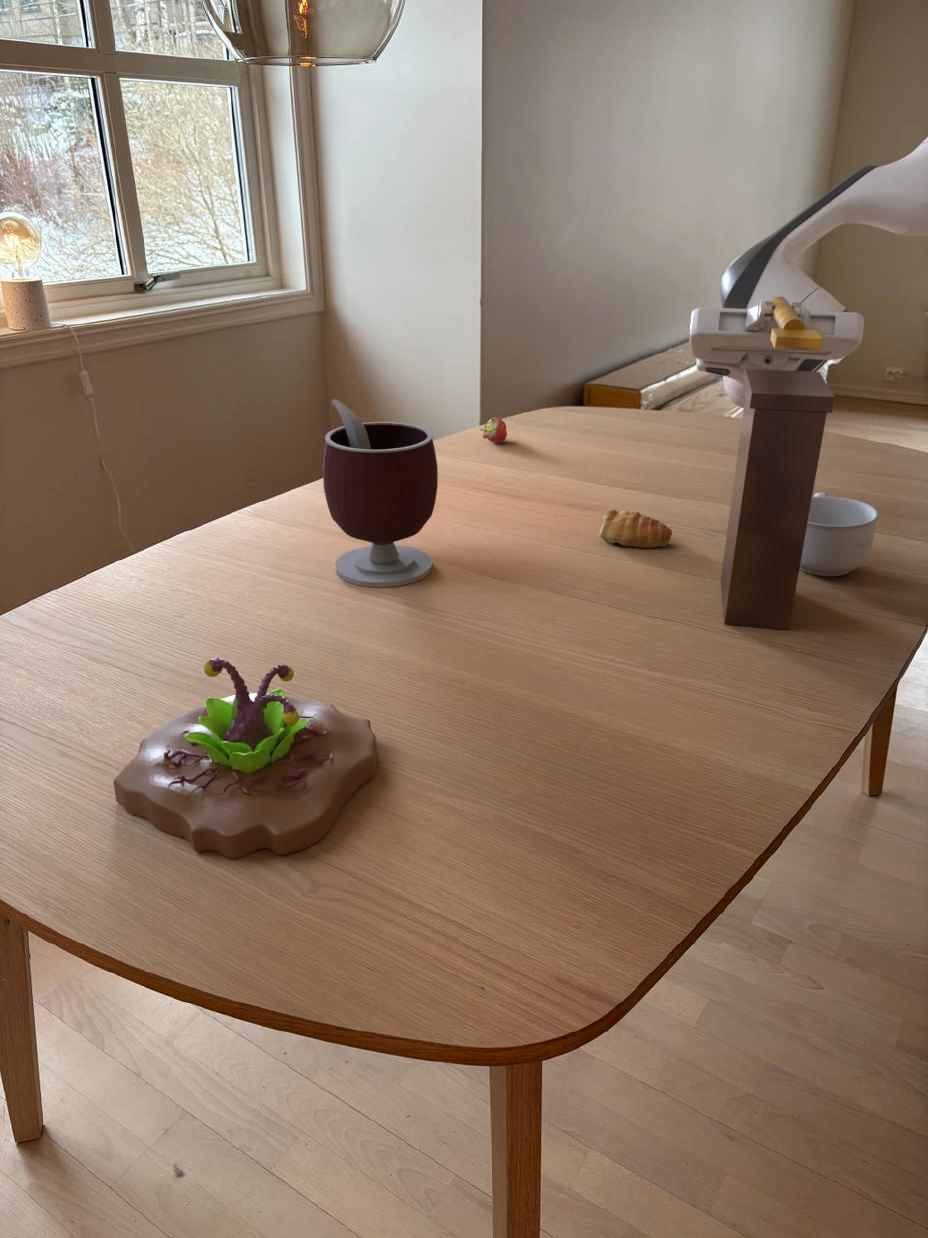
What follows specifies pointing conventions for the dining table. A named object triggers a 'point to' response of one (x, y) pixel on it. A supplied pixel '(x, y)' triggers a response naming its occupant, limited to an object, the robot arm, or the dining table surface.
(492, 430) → the fruit
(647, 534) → the pastry
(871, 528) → the teacup
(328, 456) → the mate gourd
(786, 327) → the toy blocks
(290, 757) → the plant
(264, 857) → the dining table surface
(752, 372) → the rectangular pillar
